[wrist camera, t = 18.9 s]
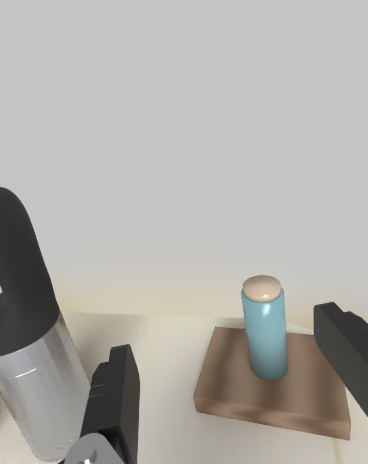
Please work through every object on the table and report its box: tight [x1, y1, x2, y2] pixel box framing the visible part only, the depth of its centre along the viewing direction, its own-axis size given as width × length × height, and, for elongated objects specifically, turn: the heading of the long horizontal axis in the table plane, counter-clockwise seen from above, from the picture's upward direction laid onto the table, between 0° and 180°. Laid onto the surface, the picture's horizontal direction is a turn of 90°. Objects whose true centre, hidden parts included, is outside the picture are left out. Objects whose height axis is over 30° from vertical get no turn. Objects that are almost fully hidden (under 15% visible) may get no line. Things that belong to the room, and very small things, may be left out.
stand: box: [194, 327, 351, 440], centre depth 42 cm, size 18×13×3 cm
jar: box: [241, 275, 288, 381], centre depth 39 cm, size 5×5×13 cm
